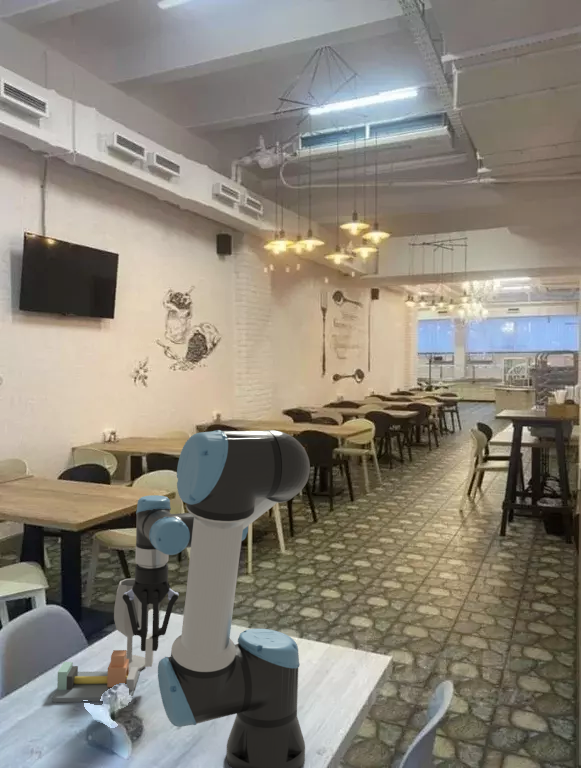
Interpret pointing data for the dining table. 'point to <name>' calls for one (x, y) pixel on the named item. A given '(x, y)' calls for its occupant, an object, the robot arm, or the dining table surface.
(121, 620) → the wineglass
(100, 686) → the linear slide rail
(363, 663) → the dining table surface
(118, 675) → the sleeve
